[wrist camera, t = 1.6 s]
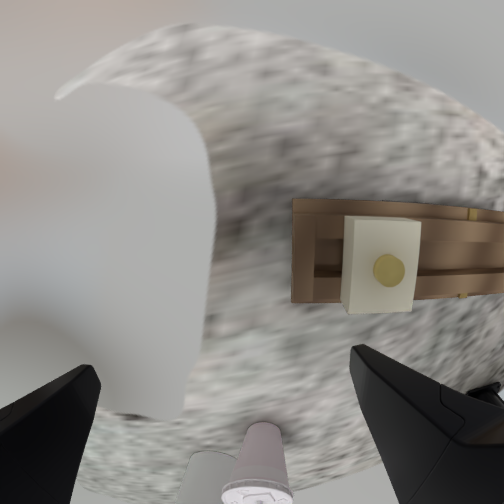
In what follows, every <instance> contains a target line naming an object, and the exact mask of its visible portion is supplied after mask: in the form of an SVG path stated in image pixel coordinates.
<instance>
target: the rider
mask: <svg viewBox="0 0 504 504" xmlns="http://www.w3.org/2000/svg"><path fill="white" fill-rule="evenodd" d="M420 236H421V222H419V221H415V220H411V219H407V218H397V217H371V216H344V246H343V265H342V281H341V294H340V300H341V302H342V304H343V306H344V308H345V309H346V311H347V313H348V314H373V313H393V312H409V311H411V310H412V304H413V298H414V291H415V284H416V277H417V268H418V259H419V249H420Z"/></svg>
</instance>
